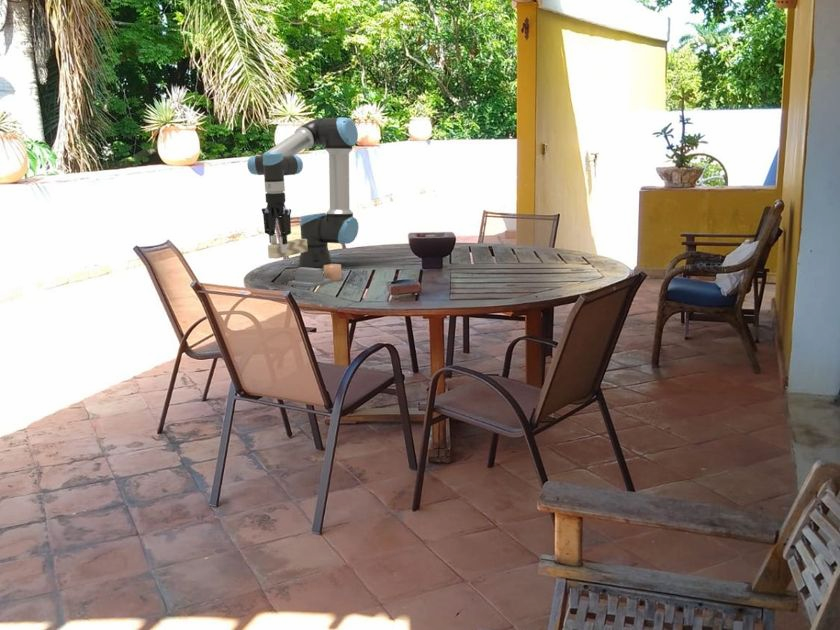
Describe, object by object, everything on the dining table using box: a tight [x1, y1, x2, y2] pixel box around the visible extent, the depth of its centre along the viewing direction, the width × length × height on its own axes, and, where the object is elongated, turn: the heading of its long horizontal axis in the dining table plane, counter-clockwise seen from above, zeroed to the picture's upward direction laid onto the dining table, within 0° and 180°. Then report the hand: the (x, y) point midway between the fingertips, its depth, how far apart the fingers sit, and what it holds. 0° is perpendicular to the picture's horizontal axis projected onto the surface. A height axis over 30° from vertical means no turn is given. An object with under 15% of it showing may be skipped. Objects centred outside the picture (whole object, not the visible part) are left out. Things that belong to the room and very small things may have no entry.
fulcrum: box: [287, 266, 332, 288], centre depth 320 cm, size 12×12×6 cm
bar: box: [267, 238, 308, 260], centre depth 323 cm, size 20×4×5 cm, turn 151°
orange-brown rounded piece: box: [323, 263, 343, 282], centre depth 327 cm, size 7×7×6 cm
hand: (279, 251), depth 318 cm, fingers closed on bar, 4 cm apart
